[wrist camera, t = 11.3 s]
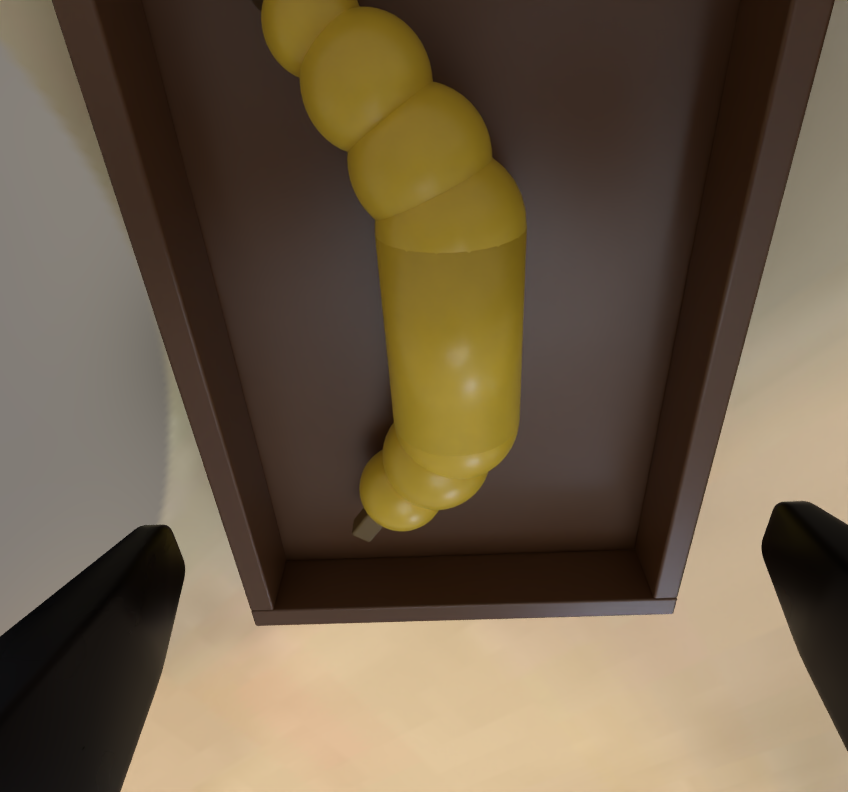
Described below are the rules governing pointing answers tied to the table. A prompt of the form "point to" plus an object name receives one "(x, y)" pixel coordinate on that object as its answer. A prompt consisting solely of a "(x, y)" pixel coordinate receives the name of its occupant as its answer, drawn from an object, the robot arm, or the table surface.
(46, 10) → the table surface
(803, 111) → the tray
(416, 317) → the banana
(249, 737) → the table surface
